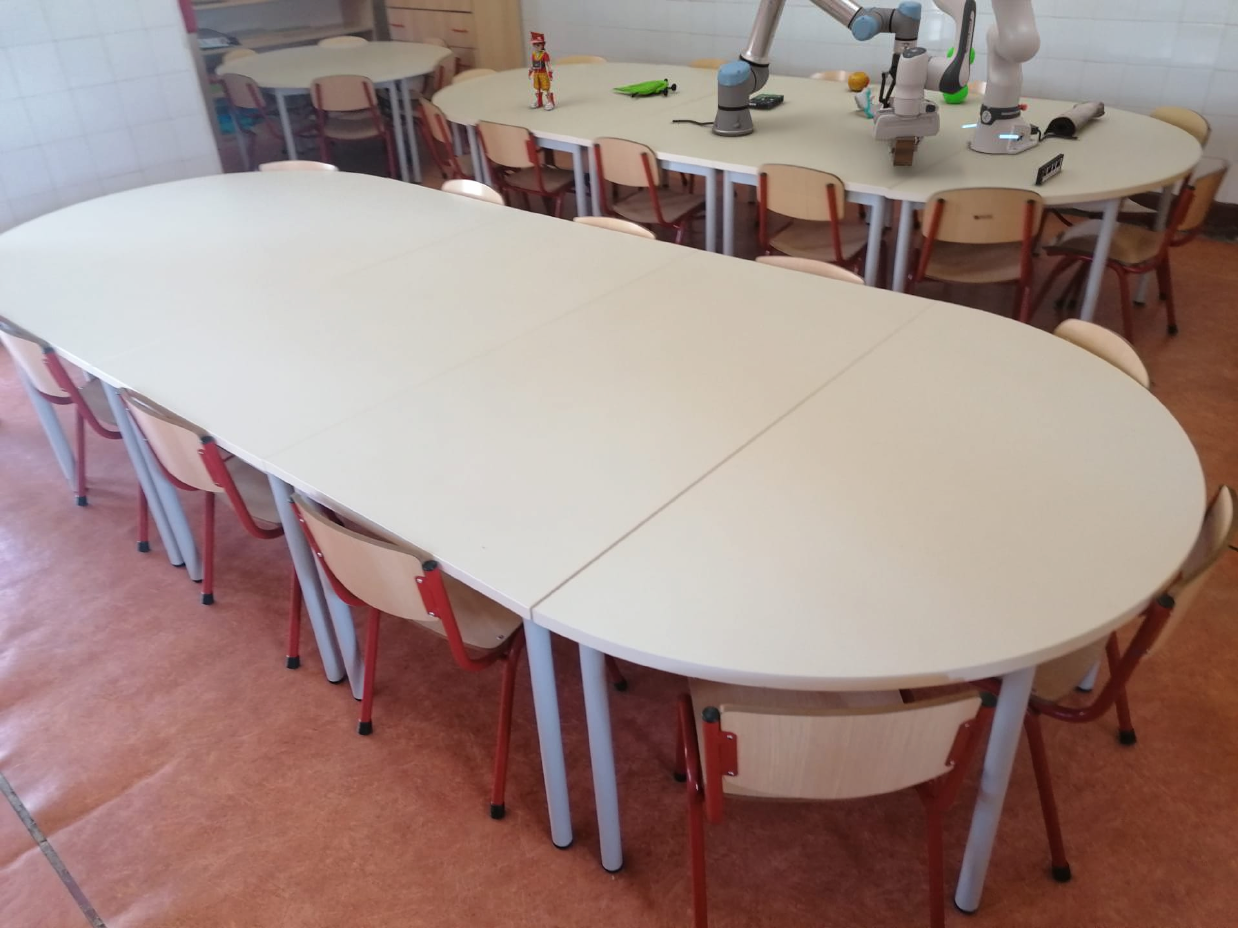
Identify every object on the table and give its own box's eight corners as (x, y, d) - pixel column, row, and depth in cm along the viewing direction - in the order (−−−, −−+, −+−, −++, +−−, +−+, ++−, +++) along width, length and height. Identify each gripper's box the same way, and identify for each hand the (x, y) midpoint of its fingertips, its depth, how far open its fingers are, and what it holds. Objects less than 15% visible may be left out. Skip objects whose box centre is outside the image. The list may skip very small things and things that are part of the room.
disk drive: (769, 111, 359) (783, 102, 369) (769, 103, 357) (784, 94, 367) (745, 108, 363) (760, 100, 373) (745, 101, 362) (761, 92, 372)
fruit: (843, 83, 375) (855, 65, 372) (845, 86, 383) (857, 69, 380) (859, 94, 374) (871, 76, 371) (861, 97, 382) (873, 80, 379)
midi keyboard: (1039, 185, 269) (1043, 168, 266) (1035, 184, 270) (1038, 168, 267) (1060, 170, 279) (1064, 154, 277) (1056, 169, 280) (1060, 153, 277)
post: (885, 120, 324) (888, 96, 319) (901, 120, 323) (905, 97, 318) (893, 166, 281) (896, 139, 276) (911, 166, 280) (915, 139, 275)
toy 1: (525, 109, 381) (517, 32, 364) (534, 104, 388) (527, 28, 371) (550, 110, 377) (543, 32, 360) (559, 105, 384) (553, 28, 367)
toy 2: (686, 85, 398) (631, 84, 414) (685, 72, 395) (629, 72, 411) (651, 104, 381) (596, 103, 397) (650, 92, 378) (594, 91, 394)
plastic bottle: (973, 101, 354) (984, 32, 339) (955, 106, 349) (966, 36, 335) (952, 97, 361) (962, 29, 346) (934, 102, 356) (944, 33, 342)
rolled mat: (1071, 106, 328) (1096, 88, 320) (1085, 127, 329) (1110, 110, 321) (1039, 128, 311) (1065, 111, 303) (1053, 150, 312) (1080, 133, 303)
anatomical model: (849, 87, 348) (874, 80, 347) (851, 114, 354) (876, 107, 353) (861, 96, 336) (887, 89, 335) (863, 124, 342) (889, 117, 341)
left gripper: (876, 55, 304) (867, 125, 318) (933, 55, 300) (922, 126, 314) (875, 50, 310) (867, 120, 323) (932, 50, 306) (921, 121, 320)
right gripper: (877, 111, 272) (873, 157, 280) (944, 106, 272) (938, 152, 280) (871, 106, 277) (867, 152, 285) (937, 101, 277) (931, 146, 285)
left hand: (894, 123), depth 319 cm, fingers closed on post, 6 cm apart
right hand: (903, 152), depth 283 cm, fingers closed on post, 6 cm apart
